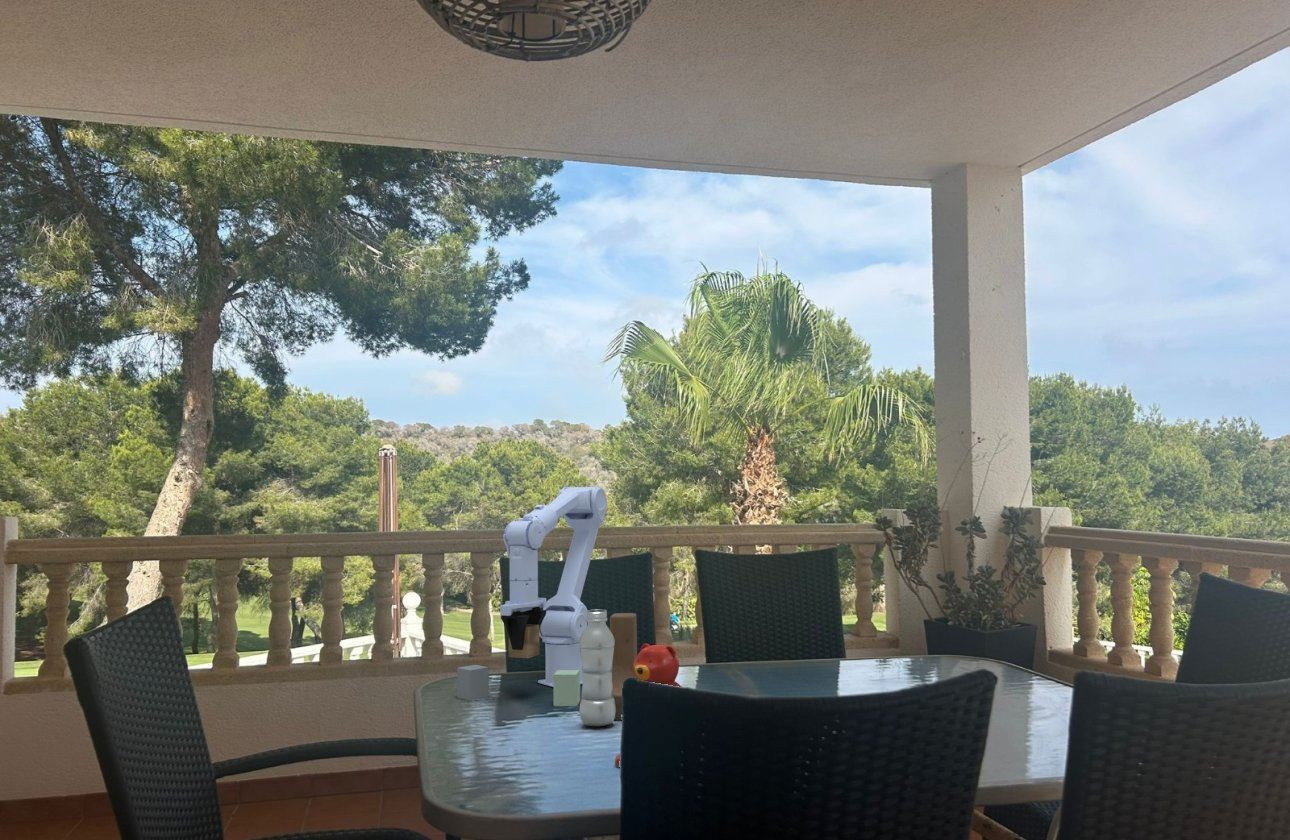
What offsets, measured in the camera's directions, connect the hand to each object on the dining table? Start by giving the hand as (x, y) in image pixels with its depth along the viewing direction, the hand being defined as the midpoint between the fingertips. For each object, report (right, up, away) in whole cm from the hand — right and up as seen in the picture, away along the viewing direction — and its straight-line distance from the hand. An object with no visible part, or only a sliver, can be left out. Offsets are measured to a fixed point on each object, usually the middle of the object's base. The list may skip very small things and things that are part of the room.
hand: (524, 647), depth 189 cm
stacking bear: (+26, -6, -49) cm, 56 cm away
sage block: (+9, -9, -7) cm, 15 cm away
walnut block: (0, -2, 0) cm, 2 cm away
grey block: (-10, -10, 0) cm, 15 cm away
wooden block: (+20, -9, -17) cm, 28 cm away
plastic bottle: (+16, -8, -25) cm, 31 cm away
